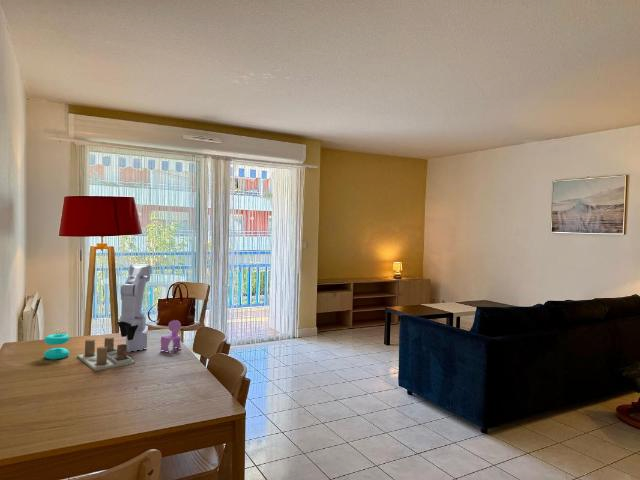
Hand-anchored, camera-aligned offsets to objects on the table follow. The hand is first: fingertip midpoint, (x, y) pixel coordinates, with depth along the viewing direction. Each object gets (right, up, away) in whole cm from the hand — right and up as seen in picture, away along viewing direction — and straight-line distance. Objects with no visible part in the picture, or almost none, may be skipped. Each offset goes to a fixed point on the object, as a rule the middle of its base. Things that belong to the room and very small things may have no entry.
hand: (127, 338), depth 203 cm
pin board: (-8, -9, -4) cm, 13 cm away
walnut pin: (+1, -9, -7) cm, 11 cm away
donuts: (-32, -8, -3) cm, 33 cm away
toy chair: (+15, -10, +16) cm, 24 cm away
